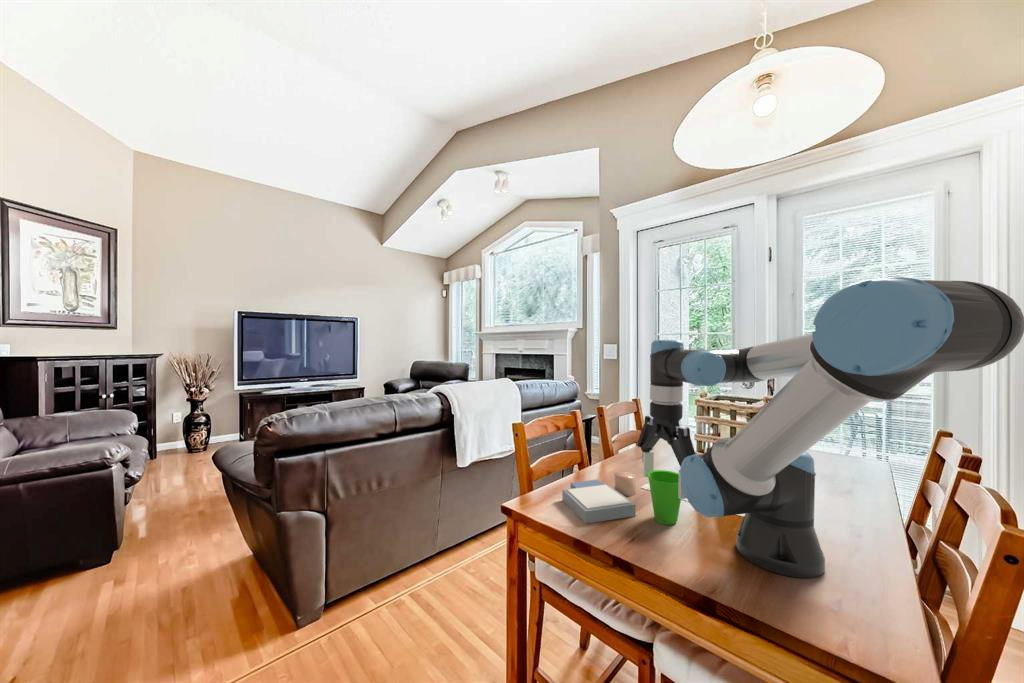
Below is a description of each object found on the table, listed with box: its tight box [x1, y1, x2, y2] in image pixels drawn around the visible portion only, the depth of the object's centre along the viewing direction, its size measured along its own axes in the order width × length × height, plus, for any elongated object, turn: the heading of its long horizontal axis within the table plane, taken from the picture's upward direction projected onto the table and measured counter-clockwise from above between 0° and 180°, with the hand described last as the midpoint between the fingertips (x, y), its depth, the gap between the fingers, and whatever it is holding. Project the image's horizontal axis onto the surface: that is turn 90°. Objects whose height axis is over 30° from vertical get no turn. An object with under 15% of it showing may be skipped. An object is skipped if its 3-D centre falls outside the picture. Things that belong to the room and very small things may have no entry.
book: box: [570, 479, 604, 489], centre depth 114 cm, size 6×9×2 cm
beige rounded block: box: [614, 471, 637, 497], centre depth 113 cm, size 6×6×5 cm
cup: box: [646, 469, 682, 526], centre depth 96 cm, size 9×9×11 cm
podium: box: [561, 483, 636, 524], centre depth 103 cm, size 14×14×3 cm
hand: (664, 486), depth 96 cm, fingers open, 13 cm apart
